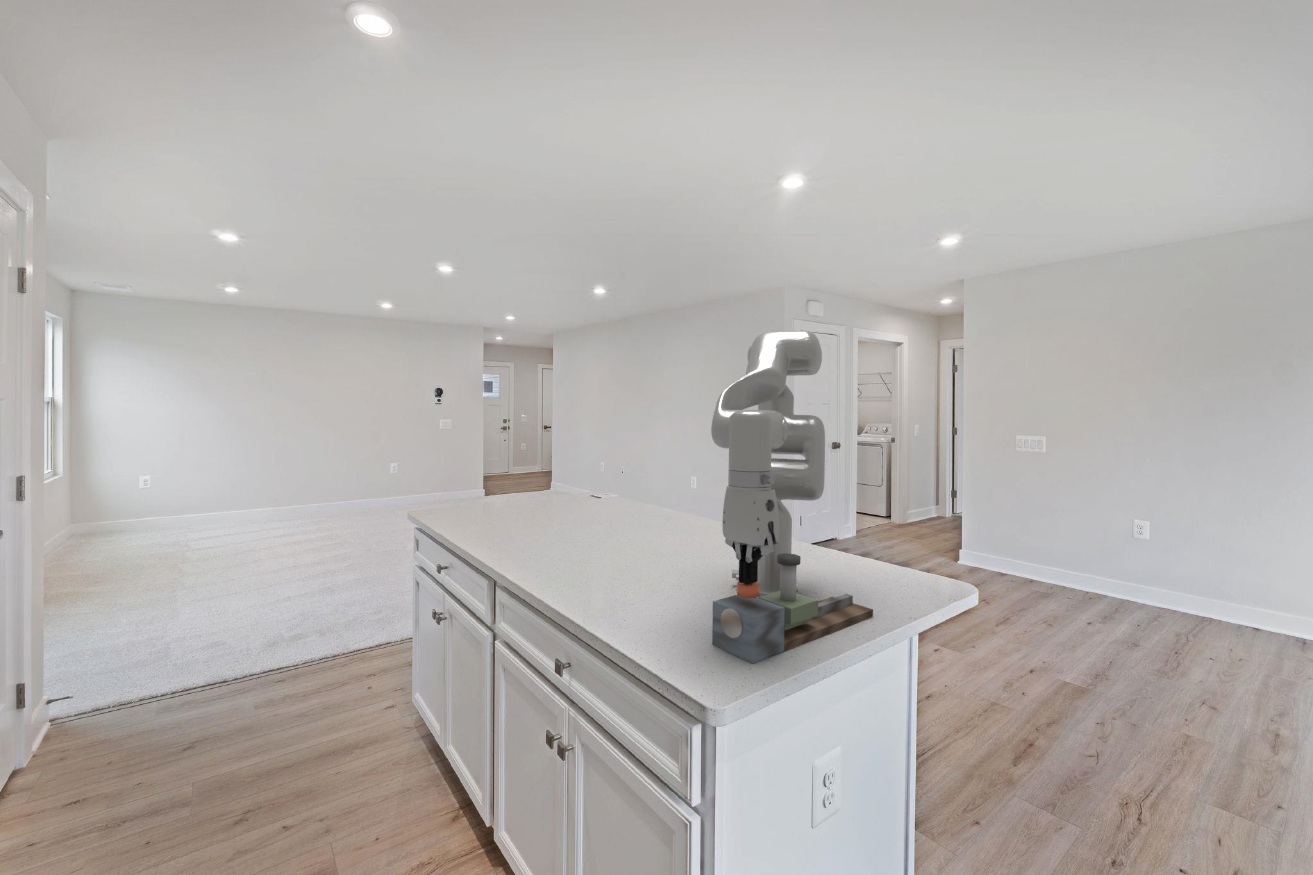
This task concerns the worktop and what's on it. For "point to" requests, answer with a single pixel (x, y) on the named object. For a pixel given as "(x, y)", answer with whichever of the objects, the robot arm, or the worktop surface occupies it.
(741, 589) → the button
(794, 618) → the block
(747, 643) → the rail stand
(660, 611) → the worktop surface
